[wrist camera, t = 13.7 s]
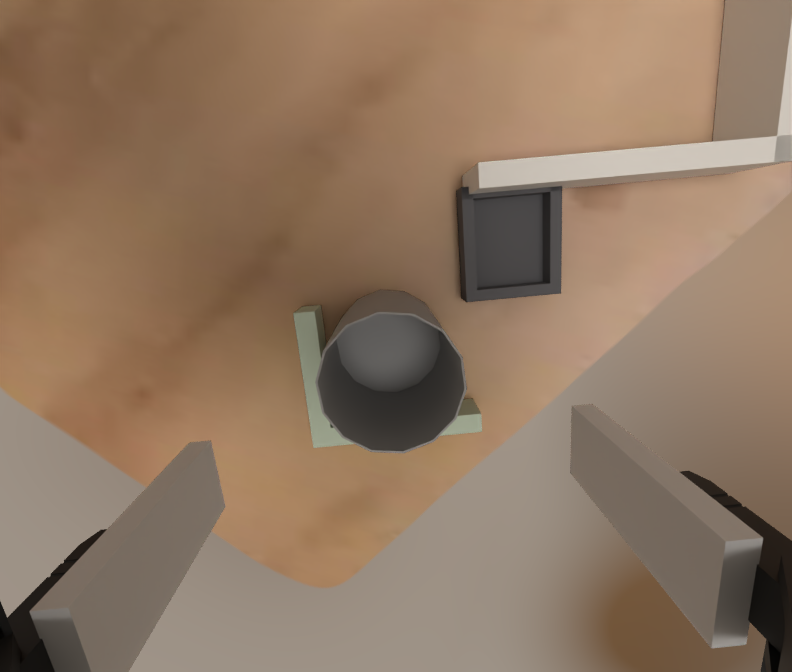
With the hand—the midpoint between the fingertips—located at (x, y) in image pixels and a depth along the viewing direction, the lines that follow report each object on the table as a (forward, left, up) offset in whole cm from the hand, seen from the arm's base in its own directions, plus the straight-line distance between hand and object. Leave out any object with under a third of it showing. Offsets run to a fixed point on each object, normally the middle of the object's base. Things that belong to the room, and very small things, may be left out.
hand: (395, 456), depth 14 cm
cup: (0, 0, -18) cm, 18 cm away
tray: (+10, +7, -18) cm, 21 cm away
